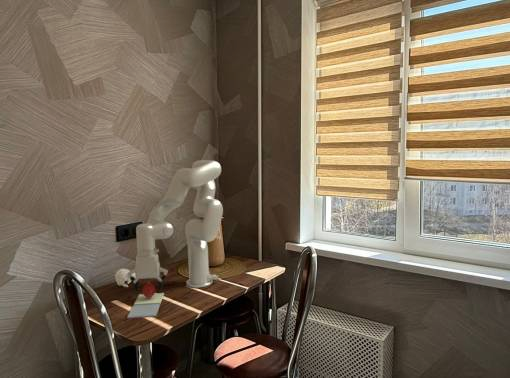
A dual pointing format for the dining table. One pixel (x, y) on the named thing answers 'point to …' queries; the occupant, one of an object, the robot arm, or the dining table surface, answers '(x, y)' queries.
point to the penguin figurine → (123, 277)
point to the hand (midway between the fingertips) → (148, 290)
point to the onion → (148, 290)
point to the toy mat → (144, 311)
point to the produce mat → (149, 299)
